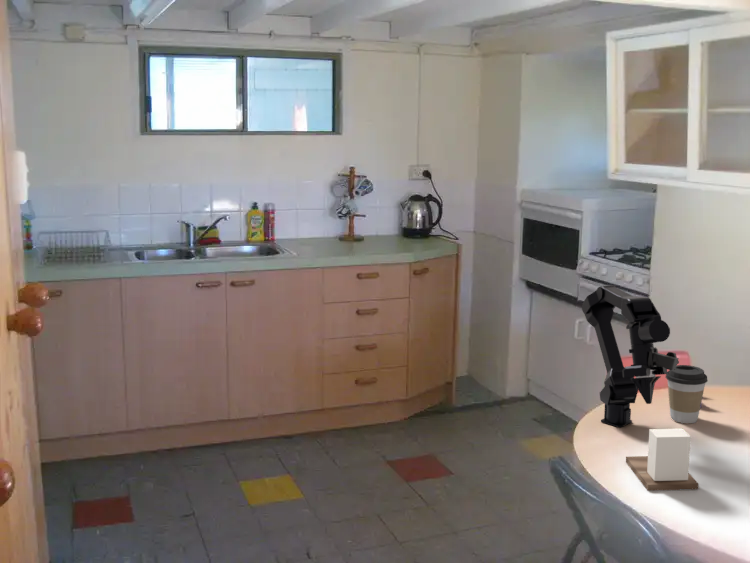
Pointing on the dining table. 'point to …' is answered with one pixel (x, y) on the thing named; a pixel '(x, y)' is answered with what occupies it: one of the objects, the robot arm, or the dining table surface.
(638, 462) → the board
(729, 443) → the dining table surface
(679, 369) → the coffee cup
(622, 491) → the dining table surface
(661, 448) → the block
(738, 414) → the dining table surface
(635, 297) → the robot arm
